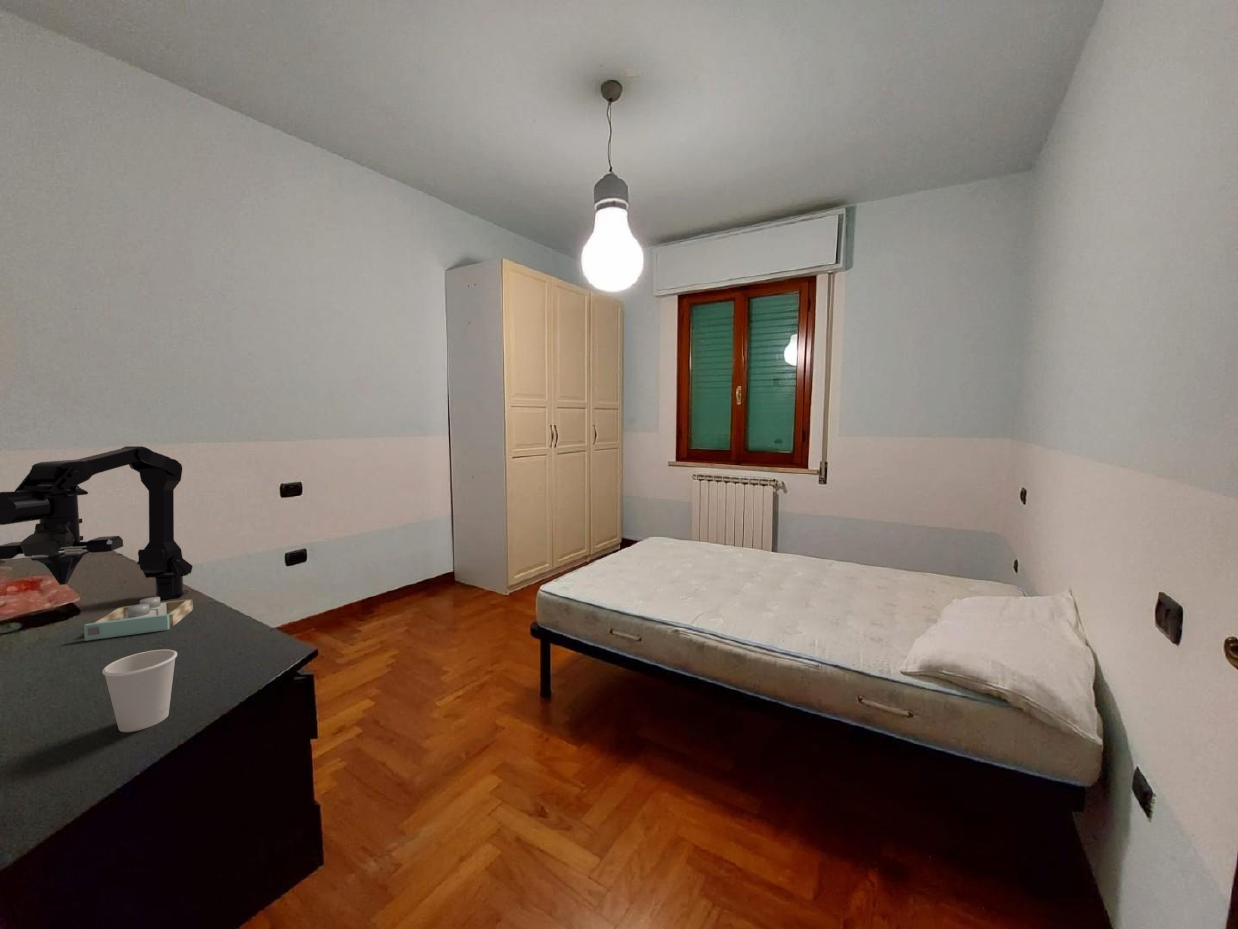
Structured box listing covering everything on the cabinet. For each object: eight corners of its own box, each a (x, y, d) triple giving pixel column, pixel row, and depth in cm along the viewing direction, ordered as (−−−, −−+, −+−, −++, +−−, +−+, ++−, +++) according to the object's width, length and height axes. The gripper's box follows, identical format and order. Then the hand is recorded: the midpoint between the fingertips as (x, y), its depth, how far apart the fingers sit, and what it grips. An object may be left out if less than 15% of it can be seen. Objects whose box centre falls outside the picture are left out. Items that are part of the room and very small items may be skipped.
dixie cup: (193, 705, 79) (191, 648, 78) (145, 737, 70) (142, 673, 70) (143, 706, 78) (140, 649, 78) (88, 738, 70) (84, 674, 70)
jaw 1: (121, 632, 108) (120, 611, 108) (131, 625, 112) (130, 604, 112) (147, 628, 110) (146, 608, 110) (156, 621, 114) (155, 602, 114)
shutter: (87, 639, 104) (86, 623, 104) (169, 628, 110) (168, 613, 110) (83, 641, 102) (82, 626, 102) (167, 630, 109) (166, 615, 108)
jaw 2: (143, 617, 117) (142, 597, 117) (166, 614, 119) (165, 595, 119) (134, 623, 113) (133, 603, 113) (158, 620, 115) (157, 600, 114)
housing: (120, 618, 116) (120, 607, 116) (193, 610, 122) (192, 599, 122) (92, 637, 105) (91, 624, 105) (173, 626, 111) (172, 614, 111)
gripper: (-33, 526, 94) (-27, 601, 94) (95, 519, 102) (99, 589, 102) (9, 517, 104) (13, 585, 104) (122, 512, 112) (126, 575, 113)
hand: (63, 584), depth 106 cm, fingers closed
